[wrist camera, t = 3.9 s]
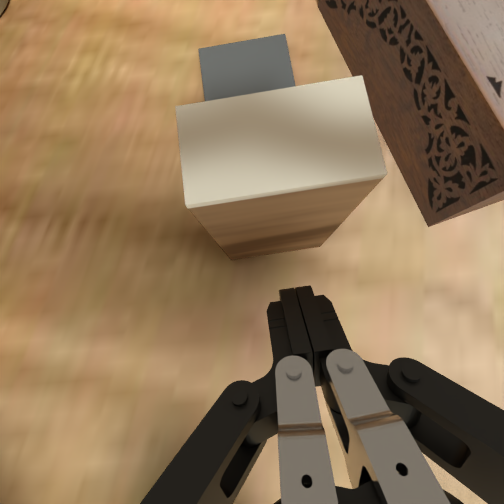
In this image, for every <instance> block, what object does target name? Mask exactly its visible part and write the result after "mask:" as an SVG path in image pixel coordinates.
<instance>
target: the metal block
mask: <svg viewBox="0 0 504 504" xmlns="http://www.w3.org/2000/svg"><path fill="white" fill-rule="evenodd" d="M175 108H176V118H177V127H178V137H179V147H180V157H181V167H182V177H183V187H184V197H185V205H186V207H187V208H188V209H189V210H190V211H191V213H192V214H193V215H194V216H195V217H196V218H197V220H198V221H199V222H200V223H201V224H202V226H203V227H204V228H205V229H206V230H207V232H208V233H209V234H210V235H211V236H212V238H213V239H214V240H215V241H216V242H217V244H218V245H219V246H220V247H221V248H222V250H223V251H224V252H225V253H226V254H227V255H228V257H229V258H230V259H231V260H234V259H241V258H247V257H254V256H261V255H267V254H274V253H281V252H287V251H294V250H301V249H307V248H314V247H320V246H321V245H322V244H323V243H324V242H325V241H326V240H327V239H328V237H329V236H330V235H331V234H332V233H333V232H334V231H335V230H336V229H337V228H338V227H339V226H340V224H341V223H342V222H343V221H344V220H345V219H346V218H347V217H348V216H349V215H350V214H351V212H352V211H353V210H354V209H355V208H356V207H357V206H358V205H359V204H360V203H361V202H362V201H363V199H364V198H365V197H366V196H367V195H368V194H369V193H370V192H371V191H372V190H373V189H374V188H375V186H376V185H377V184H378V183H379V182H380V181H381V180H382V179H383V178H384V177H385V176H386V175H387V170H386V166H385V162H384V158H383V154H382V150H381V147H380V143H379V139H378V135H377V131H376V127H375V123H374V119H373V115H372V111H371V107H370V103H369V100H368V96H367V92H366V88H365V84H364V80H363V76H362V75H360V76H354V77H348V78H342V79H336V80H330V81H324V82H318V83H312V84H306V85H300V86H294V87H289V88H283V89H277V90H271V91H265V92H259V93H253V94H247V95H241V96H235V97H229V98H223V99H217V100H211V101H205V102H199V103H193V104H187V105H181V106H175Z"/></svg>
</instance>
